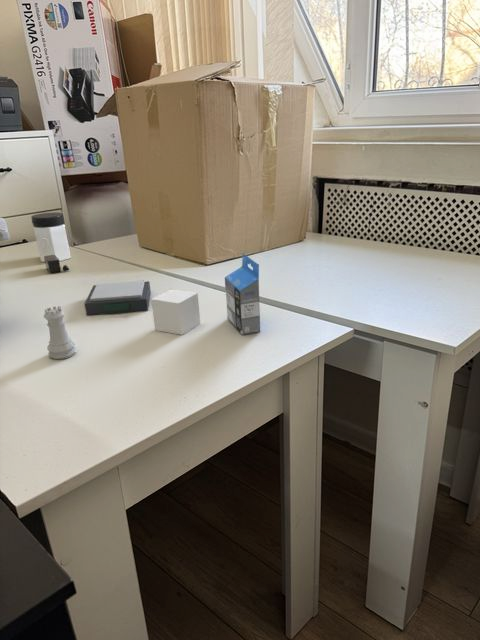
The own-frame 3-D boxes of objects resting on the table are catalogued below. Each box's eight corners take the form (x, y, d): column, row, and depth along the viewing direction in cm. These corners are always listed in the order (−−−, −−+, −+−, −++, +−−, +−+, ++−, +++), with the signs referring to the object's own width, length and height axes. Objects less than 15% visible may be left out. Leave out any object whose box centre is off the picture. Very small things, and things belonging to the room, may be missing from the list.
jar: (33, 262, 140) (23, 218, 135) (49, 254, 147) (40, 212, 142) (63, 262, 138) (54, 217, 133) (77, 254, 146) (69, 212, 140)
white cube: (200, 323, 95) (197, 292, 92) (182, 335, 90) (178, 303, 88) (174, 318, 98) (170, 289, 95) (154, 330, 93) (150, 298, 90)
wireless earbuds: (51, 274, 128) (48, 262, 126) (46, 268, 133) (43, 256, 132) (70, 271, 130) (67, 259, 129) (64, 265, 136) (62, 253, 134)
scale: (86, 316, 100) (83, 301, 99) (95, 296, 111) (92, 282, 110) (147, 311, 102) (145, 296, 100) (150, 292, 113) (149, 278, 112)
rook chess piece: (81, 353, 84) (72, 308, 81) (55, 362, 81) (45, 316, 78) (69, 346, 87) (60, 302, 84) (44, 354, 84) (33, 309, 81)
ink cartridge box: (226, 318, 97) (222, 255, 91) (245, 315, 98) (242, 252, 93) (241, 335, 89) (237, 267, 84) (261, 332, 90) (259, 264, 85)
